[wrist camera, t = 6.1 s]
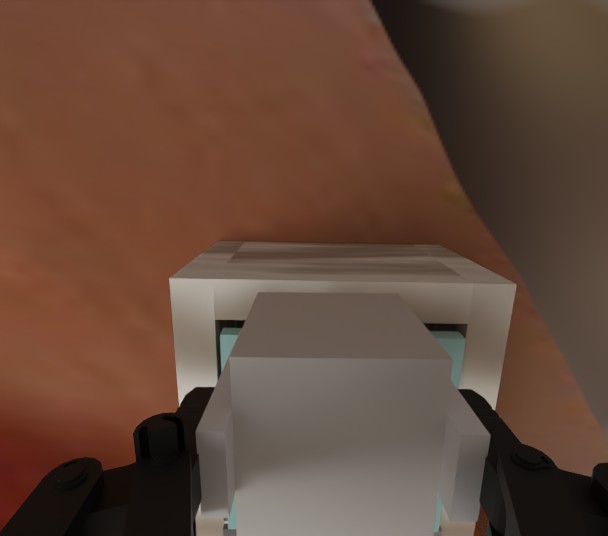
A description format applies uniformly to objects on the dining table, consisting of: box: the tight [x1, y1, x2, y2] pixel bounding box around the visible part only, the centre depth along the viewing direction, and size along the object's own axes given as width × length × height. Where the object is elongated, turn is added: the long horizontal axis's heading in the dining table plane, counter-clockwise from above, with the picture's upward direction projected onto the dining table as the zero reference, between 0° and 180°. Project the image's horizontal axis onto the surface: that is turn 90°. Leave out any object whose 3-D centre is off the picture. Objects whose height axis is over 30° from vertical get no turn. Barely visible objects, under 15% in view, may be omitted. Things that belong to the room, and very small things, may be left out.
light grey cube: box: [229, 292, 453, 536], centre depth 13 cm, size 6×6×6 cm
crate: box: [169, 241, 517, 536], centre depth 29 cm, size 20×20×12 cm
